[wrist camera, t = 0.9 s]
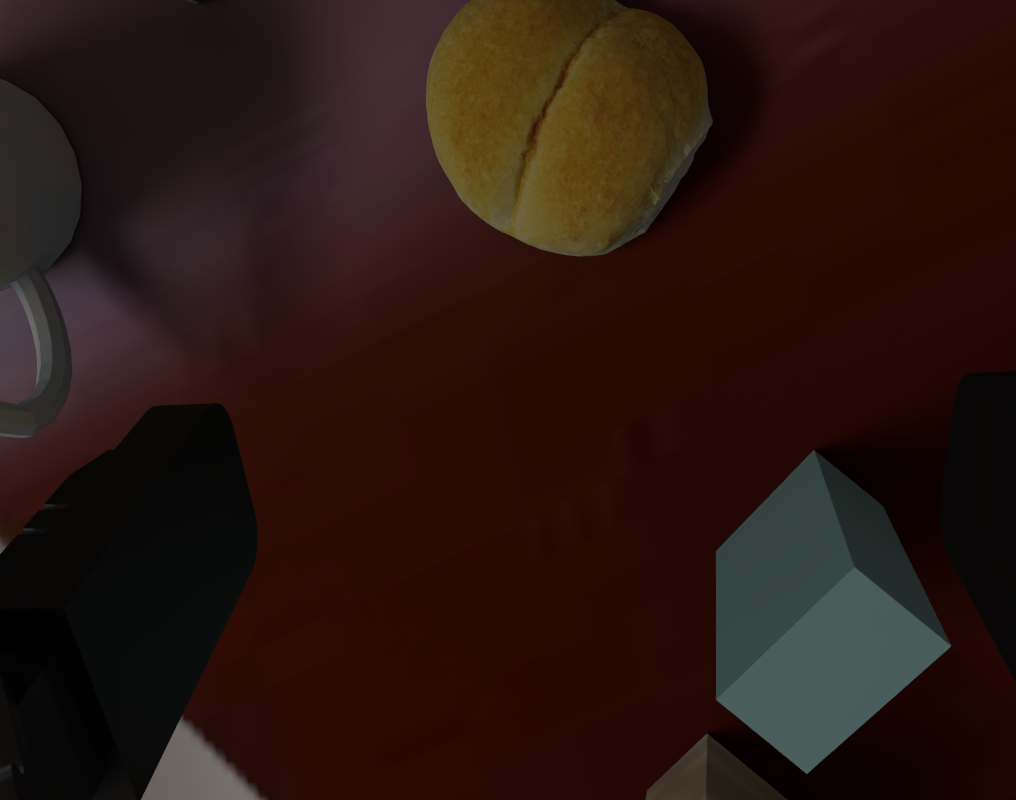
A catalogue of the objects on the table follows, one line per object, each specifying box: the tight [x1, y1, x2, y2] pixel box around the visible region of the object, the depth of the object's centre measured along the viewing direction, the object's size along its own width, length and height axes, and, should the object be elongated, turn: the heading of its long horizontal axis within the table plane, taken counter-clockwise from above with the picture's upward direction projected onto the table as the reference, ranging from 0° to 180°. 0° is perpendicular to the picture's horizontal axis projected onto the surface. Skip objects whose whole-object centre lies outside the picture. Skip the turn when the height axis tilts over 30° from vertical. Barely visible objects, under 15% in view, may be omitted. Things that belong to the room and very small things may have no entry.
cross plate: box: [716, 450, 951, 774], centre depth 29 cm, size 5×3×10 cm, turn 142°
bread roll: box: [426, 0, 713, 256], centre depth 30 cm, size 8×9×4 cm
